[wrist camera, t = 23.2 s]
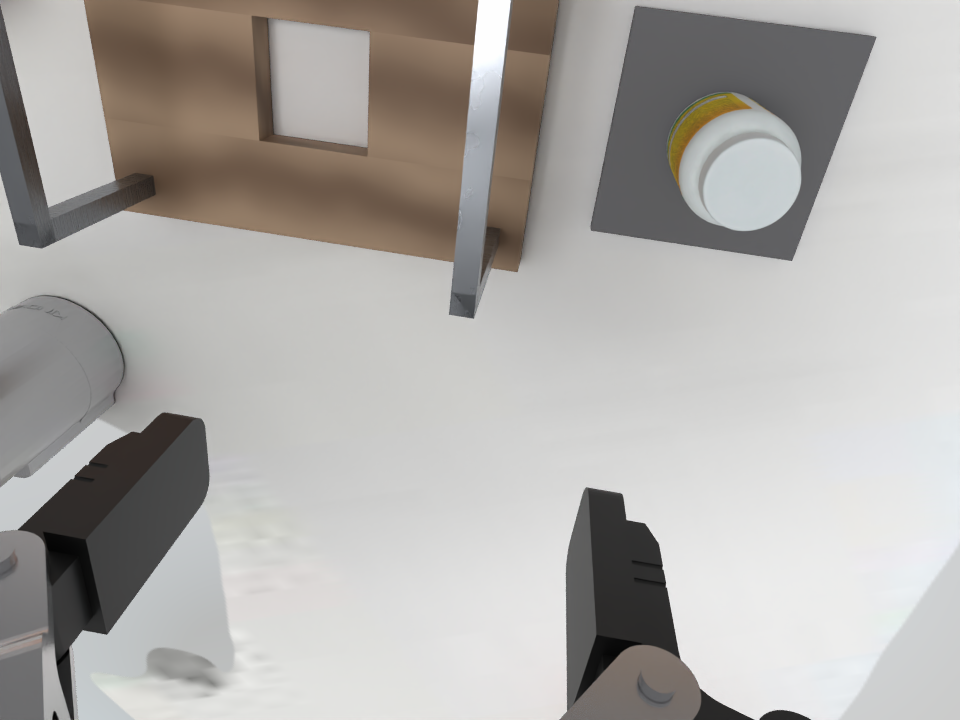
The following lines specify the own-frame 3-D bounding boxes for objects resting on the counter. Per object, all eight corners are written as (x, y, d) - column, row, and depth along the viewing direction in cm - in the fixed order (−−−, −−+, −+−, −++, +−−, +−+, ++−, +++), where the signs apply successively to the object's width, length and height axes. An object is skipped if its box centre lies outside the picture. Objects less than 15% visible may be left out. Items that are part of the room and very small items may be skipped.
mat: (787, 254, 39) (792, 260, 38) (590, 225, 40) (590, 230, 39) (868, 35, 33) (876, 37, 32) (635, 6, 34) (636, 6, 33)
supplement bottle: (784, 105, 34) (847, 141, 26) (740, 201, 37) (784, 261, 29) (686, 78, 34) (718, 105, 26) (650, 176, 37) (668, 228, 29)
